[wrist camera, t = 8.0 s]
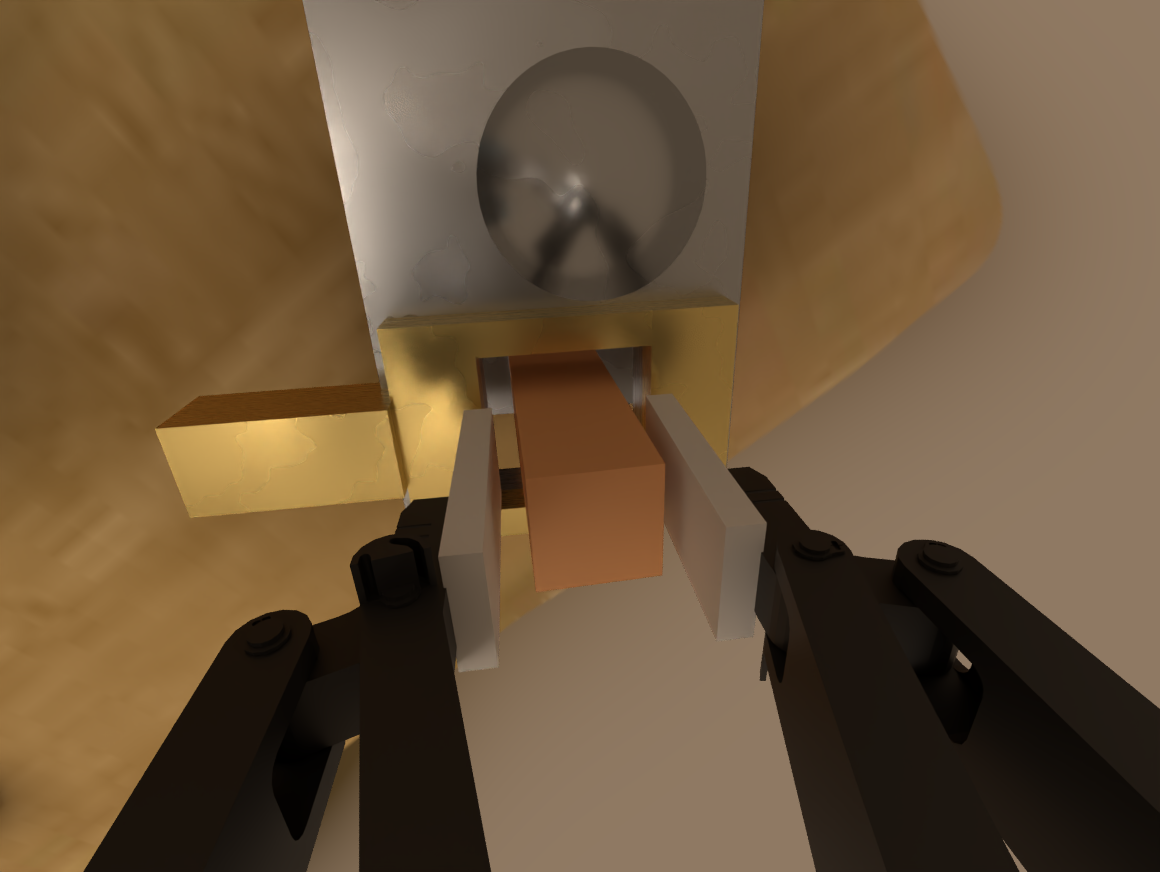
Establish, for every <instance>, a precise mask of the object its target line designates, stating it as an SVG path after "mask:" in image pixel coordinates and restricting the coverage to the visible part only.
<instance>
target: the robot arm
mask: <svg viewBox="0 0 1160 872" xmlns="http://www.w3.org/2000/svg"><path fill="white" fill-rule="evenodd" d="M646 433H647V435H648V436H649V438H650V440H651V441H652V443H653V445H654V446H655V448H656V449H657V451H658V453H659V454H660V456H661V457H662V459H663V461H664V462H665V495H664V524H665V526H666V528H667V530H668V533H669V535H670V537H671V539H672V542H673V544H674V546H675V548H676V551H677V553H678V555H679V557H680V560H681V562H682V564H683V566H684V569H685V571H686V573H687V575H688V578H689V580H690V582H691V585H692V587H693V589H694V591H695V593H696V596H697V598H698V600H699V603H700V605H701V607H702V610H703V612H704V614H705V616H706V618H707V621H708V623H709V625H710V627H711V630H712V632H713V634H714V637H715V639H716V641H722V640H731V639H740V638H748V637H753V634H754V626H755V618H756V615H757V617H758V619H759V621H760V622H761V624H762V626H763V628H764V630H765V638H764V646H763V654H762V661H761V669H760V681H766V675H767V671H768V672H769V677H770V681H771V685H772V689H773V693H774V698H775V702H776V706H777V710H778V714H779V719H780V723H781V727H782V731H783V735H784V739H785V744H786V748H787V751H788V756H789V760H790V764H791V769H792V773H793V777H794V781H795V785H796V790H797V794H798V798H799V802H800V806H801V810H802V815H803V819H804V823H805V827H806V831H807V836H808V840H809V844H810V848H811V853H812V857H813V861H814V865H815V869H816V872H1019V870H1018V868H1017V866H1016V864H1015V862H1014V860H1013V858H1012V857H1011V855H1010V853H1009V851H1008V849H1007V847H1006V845H1005V843H1006V844H1007V845H1008V847H1009V848H1010V849H1011V851H1012V852H1013V853H1014V855H1015V856H1016V857H1017V859H1018V860H1019V861H1020V863H1021V864H1022V865H1023V867H1024V868H1025V869H1026V870H1027V872H1160V709H1159V708H1158V707H1157V706H1156V705H1154V704H1153V703H1152V702H1151V701H1149V700H1148V699H1147V698H1146V697H1144V696H1143V695H1142V694H1141V693H1140V692H1138V691H1137V690H1136V689H1135V688H1133V687H1132V686H1131V685H1130V684H1128V683H1127V682H1126V681H1125V680H1123V679H1122V678H1121V677H1120V676H1119V675H1117V674H1116V673H1115V672H1114V671H1112V670H1111V669H1110V668H1109V667H1108V666H1106V665H1105V664H1104V663H1103V662H1101V661H1100V660H1099V659H1098V658H1096V657H1095V656H1094V655H1093V654H1091V653H1090V652H1089V651H1088V650H1087V649H1085V648H1084V647H1083V646H1082V645H1081V644H1079V643H1078V642H1077V641H1075V640H1074V639H1073V638H1072V637H1071V636H1069V635H1068V634H1067V633H1066V632H1064V631H1063V630H1062V629H1061V628H1060V627H1058V626H1057V625H1056V624H1055V623H1053V622H1052V621H1051V620H1050V619H1049V618H1047V617H1046V616H1045V615H1044V614H1042V613H1041V612H1040V611H1038V610H1037V609H1036V608H1035V607H1034V606H1033V605H1031V604H1030V603H1029V602H1028V601H1026V600H1025V599H1024V598H1023V597H1021V596H1020V595H1019V594H1018V593H1017V592H1015V591H1014V590H1013V589H1012V588H1010V587H1009V586H1008V585H1007V584H1005V583H1004V582H1003V581H1002V580H1001V579H999V578H998V577H997V576H996V575H994V574H993V573H992V572H991V571H989V570H988V569H987V568H986V567H985V566H983V565H982V564H981V563H980V562H978V561H977V560H976V559H975V558H973V557H972V556H970V555H969V554H967V553H966V552H964V551H962V550H961V549H959V548H956V547H954V546H951V545H948V544H946V543H943V542H939V541H938V542H937V541H932V540H912V541H909V542H905V543H903V544H902V545H901V546H900V547H899V548H898V551H897V555H896V559H895V561H894V560H885V559H875V558H866V557H859V556H853V554H852V552H851V550H850V549H849V548H848V547H847V546H846V545H845V543H844V542H843V541H841V540H839V539H838V538H836V537H834V536H833V535H830V534H827V533H824V532H821V531H816V530H810V529H809V527H808V526H807V525H806V524H805V523H804V521H803V520H802V519H801V518H800V517H799V516H798V514H797V513H796V512H795V511H794V509H793V508H792V507H791V506H790V505H789V503H788V502H787V501H784V498H783V496H782V495H781V494H780V493H779V492H778V491H776V488H775V487H774V486H773V484H772V483H771V482H770V481H769V480H768V478H767V477H766V476H764V475H762V474H760V473H759V472H757V471H755V470H754V469H752V468H750V467H742V468H731V469H727V468H726V467H725V465H724V464H723V462H722V461H721V460H720V458H719V457H718V456H717V454H716V453H715V452H714V450H713V449H712V447H711V446H710V445H709V443H708V442H707V441H706V439H705V438H704V436H703V435H702V434H701V432H700V431H699V430H698V428H697V427H696V426H695V424H694V423H693V421H692V420H691V419H690V417H689V416H688V415H687V413H686V412H685V410H684V409H683V408H682V406H681V405H680V404H679V402H678V401H677V399H676V398H675V397H674V395H673V394H660V395H648V396H646ZM500 554H501V484H500V476H499V467H498V459H497V450H496V441H495V433H494V424H493V415H492V408H487V409H474V410H464V413H463V418H462V424H461V430H460V435H459V441H458V447H457V453H456V458H455V464H454V470H453V475H452V481H451V487H450V492H449V496H448V497H437V498H426V499H416V500H413V501H412V502H411V503H410V504H409V505H408V506H407V507H406V508H405V509H404V510H403V511H402V512H401V515H400V518H399V522H398V525H397V530H396V531H395V534H394V535H388V536H385V537H382V538H378V539H375V540H373V541H372V542H370V543H368V544H366V545H365V546H363V547H361V549H360V550H359V551H358V552H357V553H356V554H355V555H354V556H353V558H352V561H351V563H350V568H351V572H352V576H353V580H354V583H355V587H356V591H357V595H358V599H359V602H360V606H359V607H358V608H356V609H354V610H353V611H351V612H349V613H346V614H344V615H341V616H339V617H336V618H333V619H330V620H327V621H324V622H321V623H318V624H315V625H312V623H311V621H310V620H309V618H308V616H307V615H306V614H304V613H301V612H299V611H297V610H280V611H275V612H270V613H266V614H264V615H262V616H259V617H257V618H255V619H252V620H250V621H249V622H247V623H246V624H244V625H243V626H242V627H240V628H239V629H237V630H236V631H235V632H234V633H233V634H232V635H231V636H230V638H229V639H228V640H227V641H226V642H225V644H224V645H223V647H222V648H221V650H220V652H219V653H218V655H217V657H216V658H215V660H214V661H213V663H212V665H211V666H210V668H209V670H208V671H207V673H206V674H205V676H204V678H203V679H202V681H201V682H200V684H199V686H198V687H197V689H196V691H195V692H194V694H193V695H192V697H191V699H190V700H189V702H188V703H187V705H186V707H185V708H184V710H183V712H182V713H181V715H180V716H179V718H178V720H177V721H176V723H175V724H174V726H173V728H172V729H171V731H170V733H169V734H168V736H167V737H166V739H165V741H164V742H163V744H162V745H161V747H160V749H159V750H158V752H157V754H156V755H155V757H154V758H153V760H152V762H151V763H150V765H149V766H148V768H147V770H146V771H145V773H144V775H143V776H142V778H141V779H140V781H139V783H138V784H137V786H136V788H135V789H134V791H133V792H132V794H131V796H130V797H129V799H128V800H127V802H126V804H125V805H124V807H123V809H122V810H121V812H120V813H119V815H118V817H117V818H116V820H115V821H114V823H113V825H112V826H111V828H110V830H109V831H108V833H107V834H106V836H105V838H104V839H103V841H102V842H101V844H100V846H99V847H98V849H97V851H96V852H95V854H94V855H93V857H92V859H91V860H90V862H89V863H88V865H87V867H86V868H85V870H84V872H306V871H307V868H308V864H309V861H310V858H311V854H312V851H313V848H314V844H315V841H316V838H317V835H318V831H319V828H320V825H321V821H322V818H323V815H324V811H325V808H326V805H327V801H328V798H329V795H330V791H331V788H332V785H333V782H334V778H335V775H336V772H337V768H338V765H339V762H340V758H341V755H342V752H343V749H344V745H345V740H347V739H349V738H352V737H354V736H357V735H359V734H360V776H359V777H360V778H359V779H360V781H359V789H360V790H359V792H360V793H359V798H360V799H359V804H360V805H359V872H491V869H490V863H489V858H488V852H487V847H486V842H485V837H484V831H483V826H482V820H481V816H480V809H479V804H478V799H477V793H476V788H475V783H474V777H473V772H472V766H471V761H470V756H469V750H468V745H467V740H466V735H465V729H464V724H463V718H462V713H461V708H460V702H459V697H458V691H457V686H456V681H455V675H454V670H455V661H456V658H457V664H458V670H459V672H465V671H472V670H482V669H490V668H498V667H499V616H500ZM958 650H960V652H961V653H962V654H963V655H964V656H965V657H966V658H967V659H968V660H969V661H970V662H971V663H972V666H971V668H970V669H967V668H966V667H965V666H964V665H962V663H961V662H960V661H959V660H958V659H957V658H956V656H957V652H958ZM1003 840H1004V841H1005V843H1004V841H1003Z"/></svg>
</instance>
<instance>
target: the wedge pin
mask: <svg viewBox="0 0 1160 872" xmlns="http://www.w3.org/2000/svg"><path fill="white" fill-rule="evenodd" d="M508 357H509V367H510V378H511V388H512V398H513V408H514V418H515V427H516V435H517V443H518V451H519V459H520V467H521V475H522V483H523V491H524V499H525V507H526V515H527V523H528V531H529V539H530V547H531V555H532V564H533V572H534V580H535V588H536V592H542V591H550V590H557V589H565V588H572V587H579V586H586V585H594V584H602V583H609V582H617V581H624V580H632V579H639V578H646V577H654V576H661V575H662V569H663V531H664V495H665V462H664V461H663V459H662V457H661V456H660V454H659V453H658V451H657V449H656V448H655V446H654V445H653V443H652V441H651V440H650V438H649V436H648V435H647V433H646V432H645V430H644V428H643V427H642V425H641V423H640V422H639V420H638V419H637V417H636V415H635V414H634V412H633V410H632V409H631V407H630V406H629V404H628V402H627V401H626V399H625V398H624V396H623V394H622V393H621V391H620V389H619V388H618V386H617V385H616V383H615V381H614V380H613V378H612V376H611V375H610V373H609V372H608V370H607V368H606V367H605V365H604V364H603V362H602V360H601V359H600V357H599V355H598V354H597V352H596V351H595V350H584V351H570V352H556V353H543V354H529V355H515V356H508Z"/></svg>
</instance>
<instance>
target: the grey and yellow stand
mask: <svg viewBox="0 0 1160 872" xmlns="http://www.w3.org/2000/svg"><path fill="white" fill-rule="evenodd" d="M303 5H304V10H305V15H306V20H307V25H308V30H309V35H310V40H311V45H312V50H313V55H314V60H315V65H316V70H317V75H318V79H319V84H320V89H321V94H322V99H323V104H324V109H325V114H326V119H327V124H328V129H329V134H330V139H331V144H332V149H333V154H334V159H335V163H336V168H337V173H338V178H339V183H340V188H341V193H342V198H343V203H344V208H345V213H346V218H347V223H348V228H349V233H350V238H351V243H352V248H353V252H354V257H355V262H356V267H357V272H358V277H359V282H360V287H361V292H362V297H363V302H364V307H365V312H366V317H367V322H368V327H369V332H370V336H371V341H372V346H373V351H374V356H375V361H376V366H377V371H378V376H379V381H380V383H367V384H354V385H341V386H327V387H314V388H301V389H288V390H275V391H261V392H248V393H235V394H222V395H209V396H198V397H197V398H196V399H194V400H193V401H192V402H190V403H189V404H188V405H186V406H185V407H184V408H182V409H181V410H180V411H178V412H177V413H176V414H174V415H173V416H172V417H170V418H169V419H168V420H166V421H165V422H164V423H162V424H161V425H159V426H158V427H157V428H155V431H156V433H157V436H158V438H159V441H160V443H161V446H162V448H163V451H164V453H165V456H166V458H167V461H168V463H169V466H170V468H171V471H172V473H173V476H174V479H175V481H176V484H177V486H178V489H179V491H180V494H181V496H182V499H183V501H184V504H185V506H186V509H187V511H188V514H189V516H190V518H195V517H206V516H217V515H227V514H238V513H249V512H260V511H270V510H281V509H292V508H303V507H313V506H324V505H335V504H346V503H356V502H367V501H378V500H388V499H399V498H403V500H404V505H405V508H406V507H407V506H408V505H409V504H410V503H411V502H412V501H413V500H416V499H426V498H437V497H448V496H449V492H450V487H451V481H452V475H453V470H454V464H455V458H456V453H457V447H458V441H459V435H460V430H461V424H462V418H463V413H464V410H474V409H487V408H492V415H496V414H508V413H514V408H513V398H512V388H511V378H510V367H509V357H508V356H515V355H529V354H543V353H556V352H570V351H584V350H595V351H596V352H597V354H598V355H599V357H600V359H601V360H602V362H603V364H604V365H605V367H606V368H607V370H608V372H609V373H610V375H611V376H612V378H613V380H614V381H615V383H616V385H617V386H618V388H619V389H620V391H621V393H622V394H623V396H624V398H625V399H626V401H627V402H628V404H630V403H633V412H634V414H635V415H636V417H637V419H638V420H639V422H640V423H641V425H642V427H643V428H644V430H645V432H646V396H648V395H660V394H673V395H674V397H675V398H676V399H677V401H678V402H679V404H680V405H681V406H682V408H683V409H684V410H685V412H686V413H687V415H688V416H689V417H690V419H691V420H692V421H693V423H694V424H695V426H696V427H697V428H698V430H699V431H700V432H701V434H702V435H703V436H704V438H705V439H706V441H707V442H708V443H709V445H710V446H711V447H712V449H713V450H714V452H715V453H716V454H717V456H718V457H719V458H720V460H721V461H722V462H723V464H724V465H725V467H726V468H727V458H728V446H729V433H730V421H731V408H732V396H733V383H734V371H735V358H736V346H737V333H738V320H739V308H740V295H741V283H742V270H743V258H744V245H745V233H746V220H747V208H748V195H749V183H750V170H751V158H752V145H753V133H754V120H755V108H756V95H757V82H758V70H759V57H760V45H761V32H762V20H763V7H764V0H303ZM499 476H500V484H501V536H508V535H518V534H528V533H529V531H528V523H527V515H526V507H525V499H524V491H523V483H522V475H521V467H520V468H509V469H499Z"/></svg>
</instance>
